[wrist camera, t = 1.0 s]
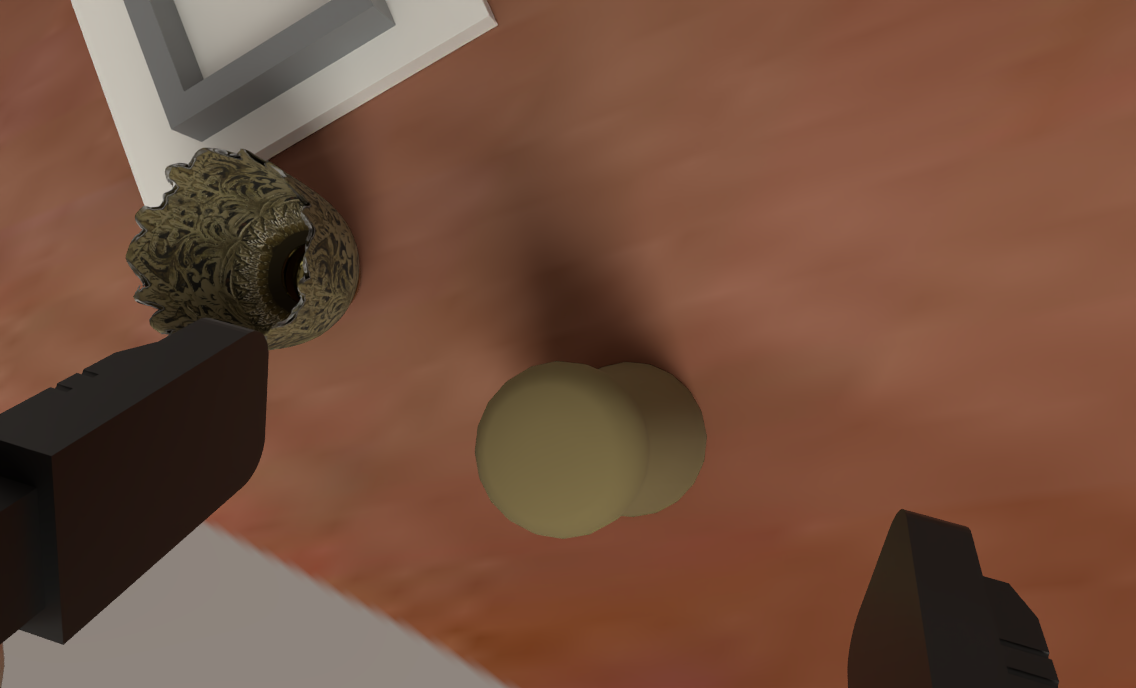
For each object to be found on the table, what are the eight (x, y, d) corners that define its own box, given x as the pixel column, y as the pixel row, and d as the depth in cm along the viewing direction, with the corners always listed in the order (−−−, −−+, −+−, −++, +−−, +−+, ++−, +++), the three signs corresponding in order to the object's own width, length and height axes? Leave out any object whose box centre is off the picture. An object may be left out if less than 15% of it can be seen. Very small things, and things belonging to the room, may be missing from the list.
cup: (334, 399, 40) (216, 398, 33) (226, 292, 42) (90, 266, 35) (440, 265, 39) (344, 232, 32) (325, 161, 41) (208, 105, 34)
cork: (527, 458, 38) (407, 478, 27) (608, 332, 37) (517, 303, 27) (651, 548, 36) (573, 606, 26) (737, 417, 36) (694, 422, 25)
